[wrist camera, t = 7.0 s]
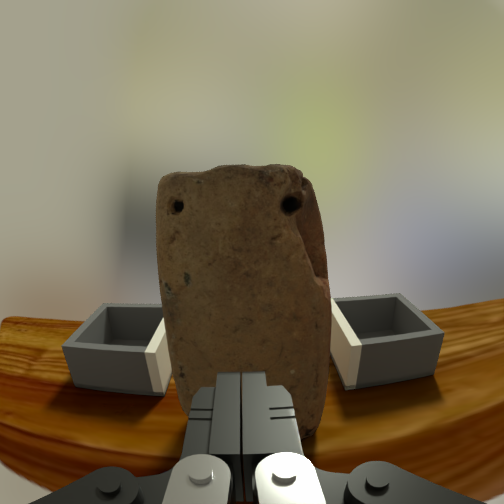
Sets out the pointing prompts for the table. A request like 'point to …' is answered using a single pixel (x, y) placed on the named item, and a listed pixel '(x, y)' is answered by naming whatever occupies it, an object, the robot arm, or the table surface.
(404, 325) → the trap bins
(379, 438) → the table surface
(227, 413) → the robot arm
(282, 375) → the block
